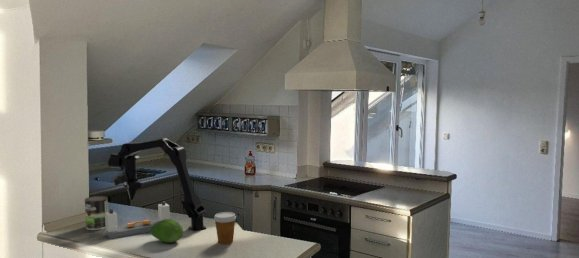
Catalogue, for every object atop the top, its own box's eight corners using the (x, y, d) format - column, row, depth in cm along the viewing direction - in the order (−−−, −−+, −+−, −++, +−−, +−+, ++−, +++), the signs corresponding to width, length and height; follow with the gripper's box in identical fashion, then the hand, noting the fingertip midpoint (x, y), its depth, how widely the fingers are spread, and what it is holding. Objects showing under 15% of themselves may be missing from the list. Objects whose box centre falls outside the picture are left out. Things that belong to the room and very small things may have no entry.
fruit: (145, 242, 199) (144, 220, 198) (161, 235, 208) (160, 214, 207) (172, 247, 193) (172, 224, 192) (188, 240, 201) (187, 218, 200)
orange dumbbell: (150, 223, 217) (150, 220, 217) (128, 227, 211) (128, 223, 211) (148, 222, 219) (148, 219, 219) (127, 226, 214) (126, 223, 214)
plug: (170, 221, 221) (169, 202, 220) (161, 223, 219) (161, 203, 218) (166, 219, 225) (166, 200, 224) (158, 220, 223) (157, 201, 222)
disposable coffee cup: (227, 247, 192) (226, 219, 191) (209, 243, 198) (209, 215, 196) (241, 240, 201) (240, 213, 199) (224, 236, 206) (223, 210, 204)
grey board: (171, 227, 220) (171, 222, 219) (109, 238, 205) (109, 233, 204) (166, 223, 226) (165, 218, 226) (105, 234, 211) (105, 228, 211)
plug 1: (118, 230, 208) (116, 210, 207) (108, 232, 206) (107, 211, 205) (115, 228, 212) (114, 207, 211) (106, 229, 210) (105, 209, 209)
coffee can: (97, 231, 216) (96, 201, 214) (81, 228, 220) (79, 199, 218) (113, 225, 225) (112, 196, 224) (97, 222, 229) (96, 195, 228)
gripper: (108, 167, 227) (110, 198, 229) (117, 173, 212) (118, 206, 213) (131, 164, 233) (133, 195, 235) (141, 170, 218) (142, 202, 219)
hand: (131, 199), depth 225 cm, fingers closed
